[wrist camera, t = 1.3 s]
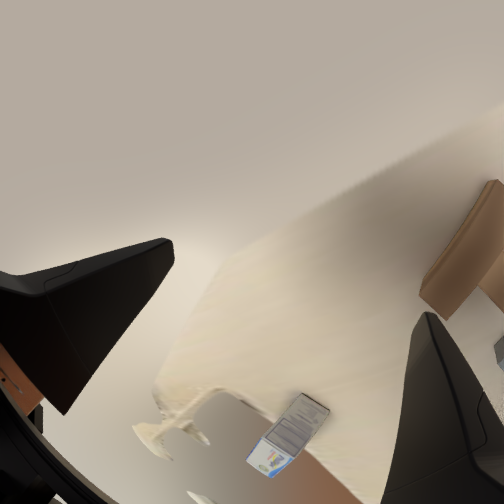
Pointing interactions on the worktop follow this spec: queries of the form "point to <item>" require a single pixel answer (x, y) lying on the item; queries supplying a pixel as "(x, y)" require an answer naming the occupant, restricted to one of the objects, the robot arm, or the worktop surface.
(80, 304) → the robot arm
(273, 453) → the medicine box
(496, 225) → the t block
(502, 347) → the t dock
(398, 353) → the worktop surface
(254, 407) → the worktop surface
